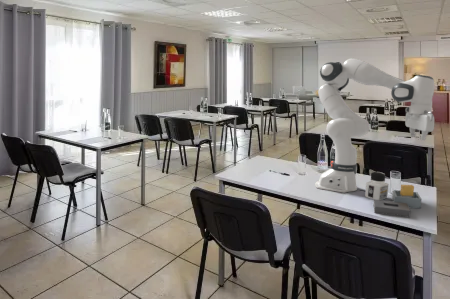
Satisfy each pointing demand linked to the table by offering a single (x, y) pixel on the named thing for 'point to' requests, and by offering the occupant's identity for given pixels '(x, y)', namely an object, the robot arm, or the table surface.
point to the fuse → (407, 191)
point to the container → (377, 187)
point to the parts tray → (407, 199)
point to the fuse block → (391, 208)
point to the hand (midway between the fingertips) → (417, 138)
